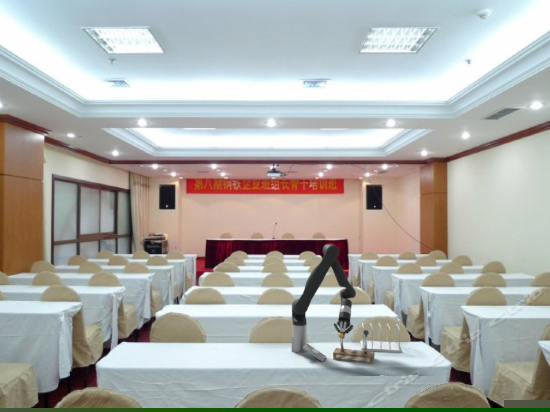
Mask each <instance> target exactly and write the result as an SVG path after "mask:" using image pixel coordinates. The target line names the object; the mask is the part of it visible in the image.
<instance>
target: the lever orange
mask: <svg viewBox="0 0 550 412" xmlns="http://www.w3.org/2000/svg"><path fill="white" fill-rule="evenodd" d="M337 336H338V338H339V341H340V343H339V344H340V348H341V351H344V349H345V348H344V338H343V336H344V335H343V333H338V335H337Z"/></svg>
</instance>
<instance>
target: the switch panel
mask: <svg viewBox="0 0 550 412" xmlns="http://www.w3.org/2000/svg"><path fill="white" fill-rule="evenodd" d="M332 359H333V360H336V361H337V360H338V361H346V362H355V363H365V364H371V365H372V364H374V361H375V351H367V353H364V351H362V350H360V349H359V350H357V349H350V348H344V351H341V347H340V348H339V347H336V348H335V349H334V350H333V352H332Z"/></svg>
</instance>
